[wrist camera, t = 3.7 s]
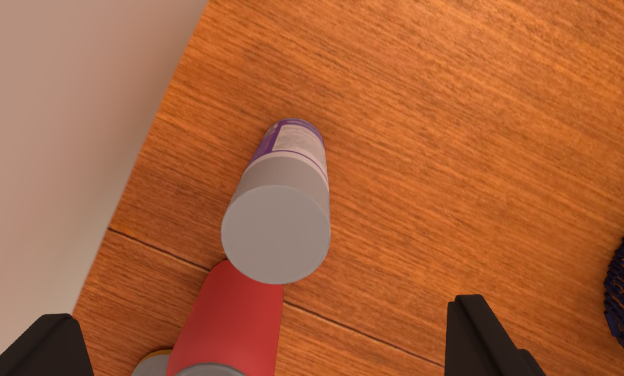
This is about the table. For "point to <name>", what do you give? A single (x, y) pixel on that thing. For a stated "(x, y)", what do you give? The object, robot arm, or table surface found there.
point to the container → (281, 207)
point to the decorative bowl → (613, 307)
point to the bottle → (153, 364)
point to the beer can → (230, 327)
